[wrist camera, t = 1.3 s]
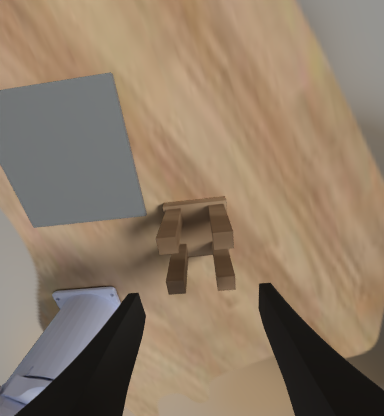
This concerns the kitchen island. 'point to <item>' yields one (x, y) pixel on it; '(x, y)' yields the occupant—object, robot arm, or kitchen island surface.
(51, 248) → the kitchen island surface
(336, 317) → the kitchen island surface
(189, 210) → the stool
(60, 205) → the mat
